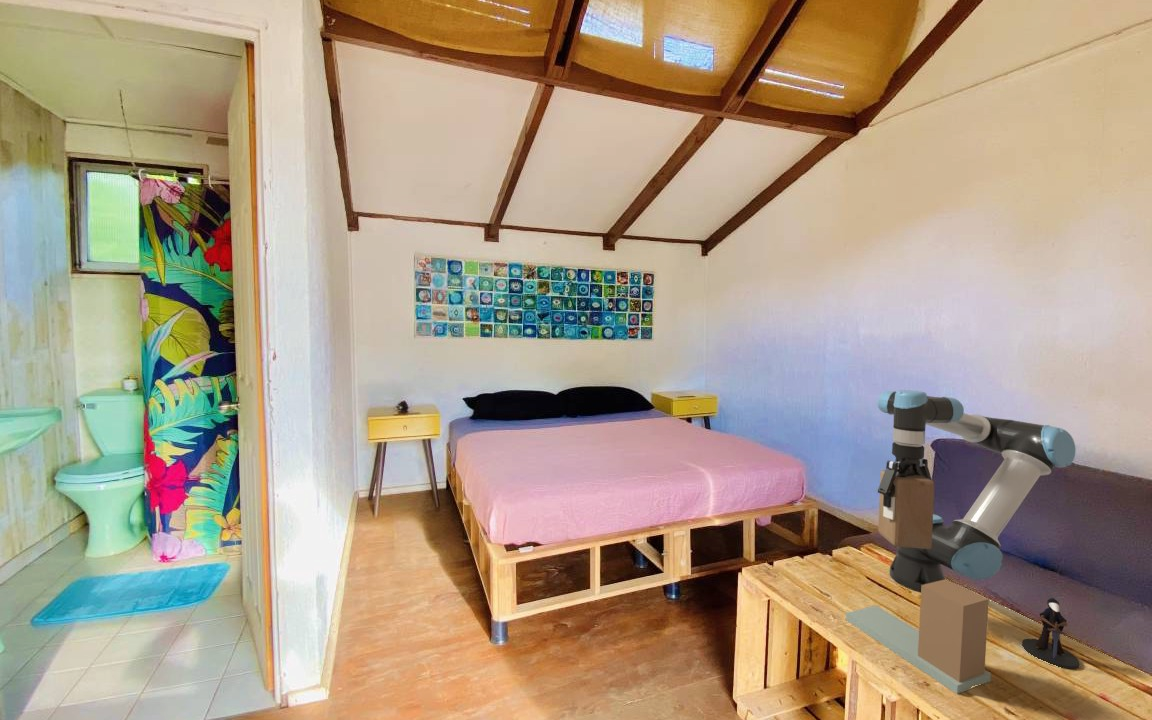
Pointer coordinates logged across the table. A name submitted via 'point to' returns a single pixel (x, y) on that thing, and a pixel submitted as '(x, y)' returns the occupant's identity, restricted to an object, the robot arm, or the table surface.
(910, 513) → the wooden block
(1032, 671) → the table surface
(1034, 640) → the figurine
